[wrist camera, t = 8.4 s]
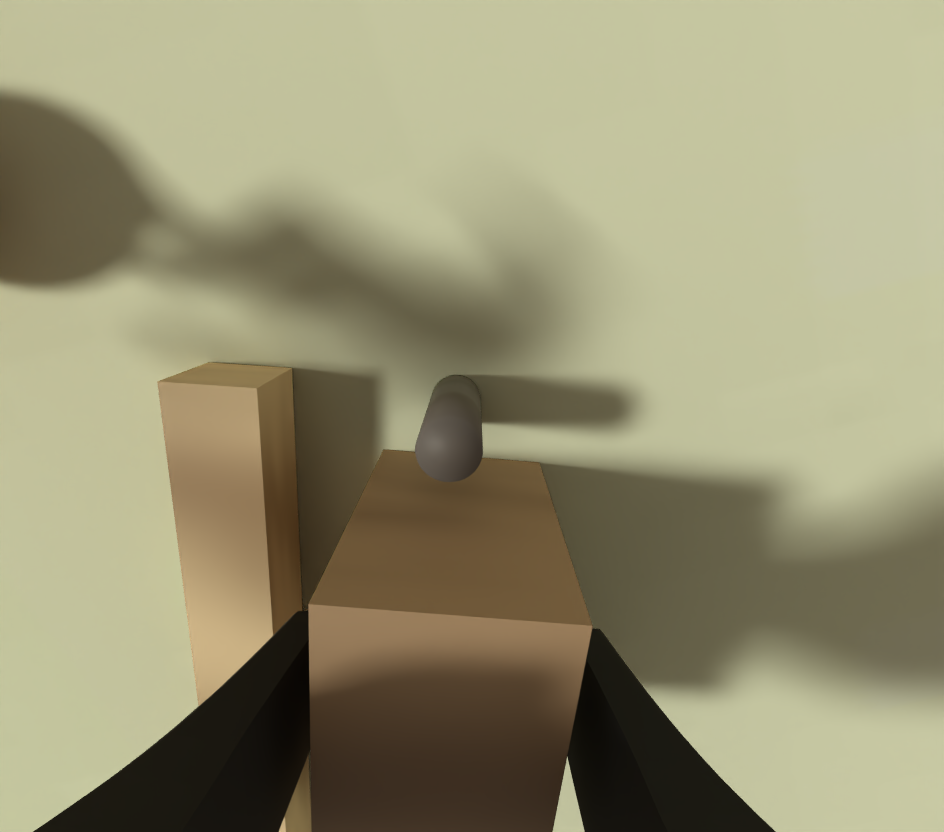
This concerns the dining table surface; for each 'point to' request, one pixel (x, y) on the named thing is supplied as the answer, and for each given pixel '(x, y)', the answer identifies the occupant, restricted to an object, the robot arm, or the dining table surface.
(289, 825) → the ledge
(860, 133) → the dining table surface
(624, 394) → the dining table surface
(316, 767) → the wooden box
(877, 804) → the dining table surface
